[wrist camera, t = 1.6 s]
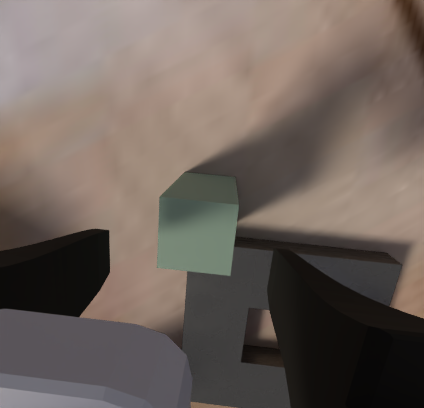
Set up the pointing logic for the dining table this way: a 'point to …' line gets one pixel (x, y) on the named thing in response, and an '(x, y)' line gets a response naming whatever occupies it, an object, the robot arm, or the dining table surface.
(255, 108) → the dining table surface
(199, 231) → the green rectangular block
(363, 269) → the socket plate
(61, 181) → the dining table surface
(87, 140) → the dining table surface
